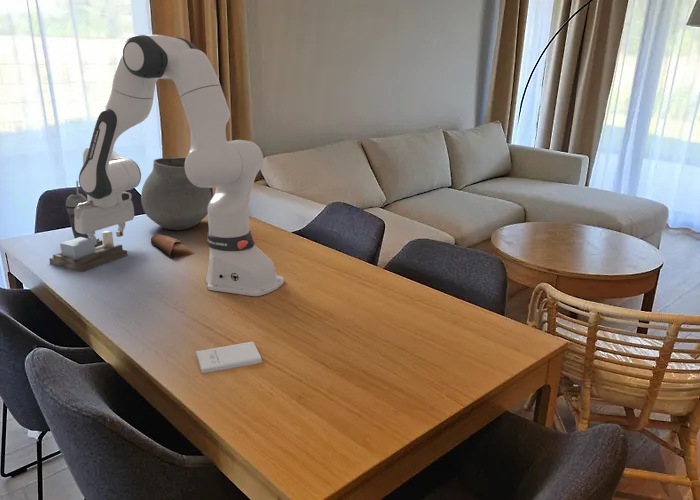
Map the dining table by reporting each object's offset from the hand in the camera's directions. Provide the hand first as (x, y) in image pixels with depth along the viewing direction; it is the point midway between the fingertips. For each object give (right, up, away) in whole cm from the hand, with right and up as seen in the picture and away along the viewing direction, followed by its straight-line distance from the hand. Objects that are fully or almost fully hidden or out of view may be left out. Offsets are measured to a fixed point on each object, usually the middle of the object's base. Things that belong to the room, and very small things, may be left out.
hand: (108, 240), depth 180 cm
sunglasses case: (+19, -3, +6) cm, 20 cm away
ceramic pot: (+14, +5, +29) cm, 33 cm away
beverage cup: (-15, +1, +15) cm, 21 cm away
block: (-3, -4, -5) cm, 7 cm away
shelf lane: (-4, -6, -5) cm, 9 cm away
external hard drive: (+51, -27, -60) cm, 83 cm away
